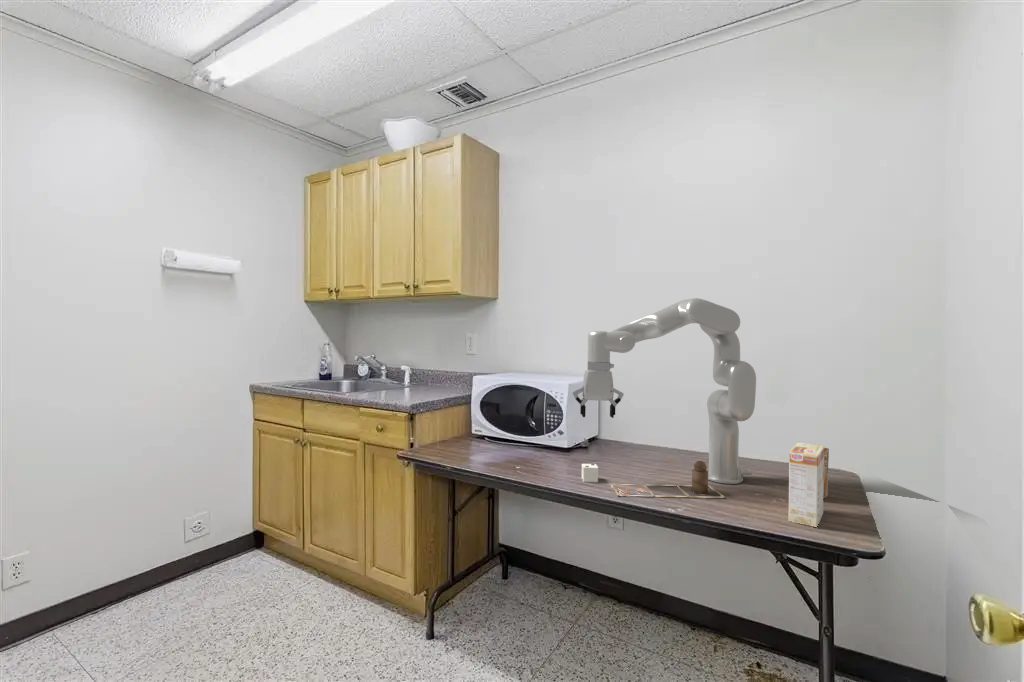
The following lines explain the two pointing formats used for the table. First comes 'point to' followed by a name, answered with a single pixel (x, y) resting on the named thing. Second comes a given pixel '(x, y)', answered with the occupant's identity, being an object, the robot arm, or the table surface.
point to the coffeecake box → (806, 484)
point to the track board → (663, 496)
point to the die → (590, 472)
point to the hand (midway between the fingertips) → (597, 416)
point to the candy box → (825, 471)
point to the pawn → (700, 478)
